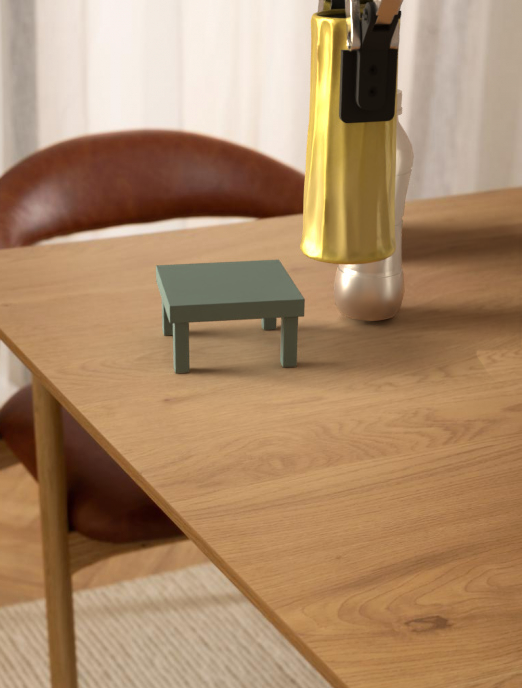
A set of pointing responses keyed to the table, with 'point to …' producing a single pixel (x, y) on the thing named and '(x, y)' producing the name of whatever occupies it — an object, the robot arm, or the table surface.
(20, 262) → the table surface
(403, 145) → the silver water bottle
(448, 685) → the table surface
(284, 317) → the stool
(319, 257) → the vase
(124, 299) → the table surface
